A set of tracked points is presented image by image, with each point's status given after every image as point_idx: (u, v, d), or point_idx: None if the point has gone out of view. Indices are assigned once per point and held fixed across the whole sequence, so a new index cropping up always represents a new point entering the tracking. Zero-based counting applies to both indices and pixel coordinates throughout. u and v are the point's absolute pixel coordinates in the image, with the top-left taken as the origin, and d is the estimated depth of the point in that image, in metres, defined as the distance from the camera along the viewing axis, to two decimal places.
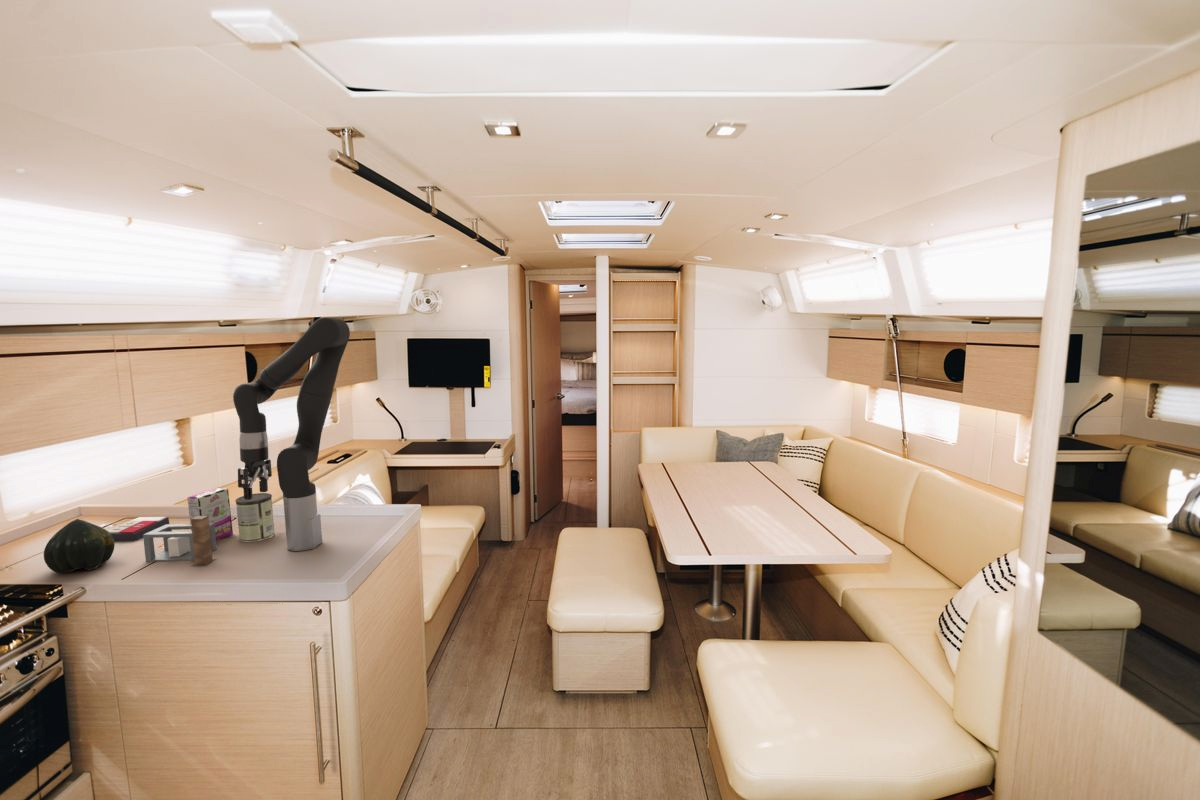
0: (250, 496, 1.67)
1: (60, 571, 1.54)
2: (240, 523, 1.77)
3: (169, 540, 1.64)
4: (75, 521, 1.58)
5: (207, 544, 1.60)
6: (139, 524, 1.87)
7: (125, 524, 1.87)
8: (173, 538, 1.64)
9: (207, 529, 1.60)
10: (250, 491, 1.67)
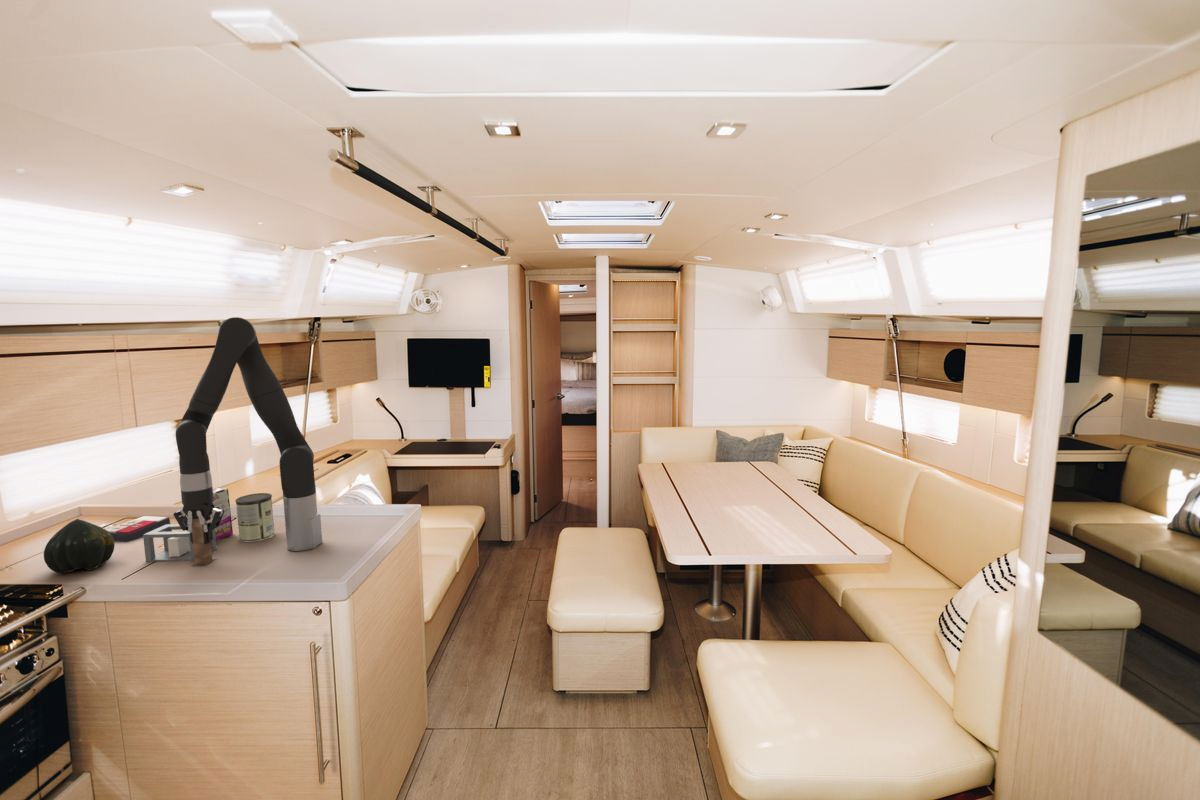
0: None
1: (60, 571, 1.54)
2: (240, 523, 1.77)
3: (169, 540, 1.64)
4: (75, 521, 1.58)
5: (207, 544, 1.60)
6: (138, 524, 1.87)
7: (126, 523, 1.88)
8: (173, 538, 1.64)
9: None
10: None
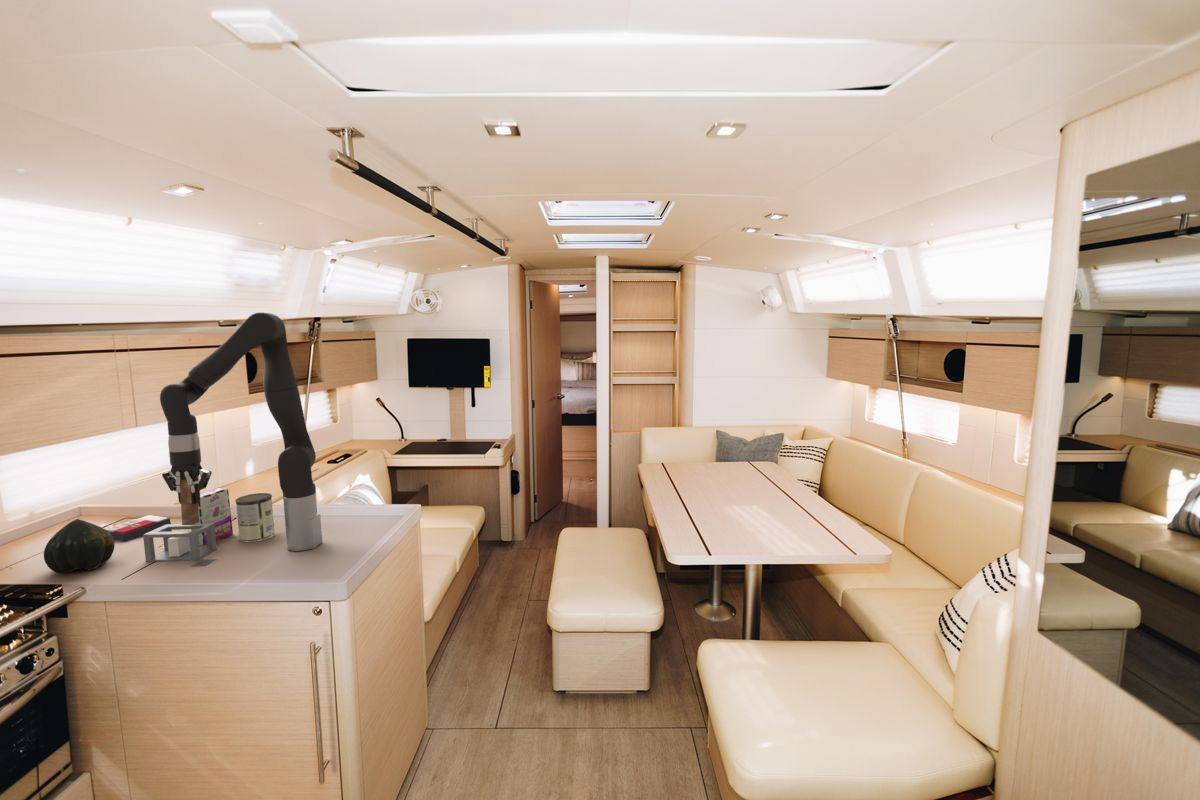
0: None
1: (60, 571, 1.54)
2: (240, 523, 1.77)
3: (169, 540, 1.64)
4: (75, 521, 1.58)
5: (195, 506, 1.65)
6: (137, 524, 1.87)
7: (128, 522, 1.89)
8: (173, 538, 1.64)
9: None
10: None
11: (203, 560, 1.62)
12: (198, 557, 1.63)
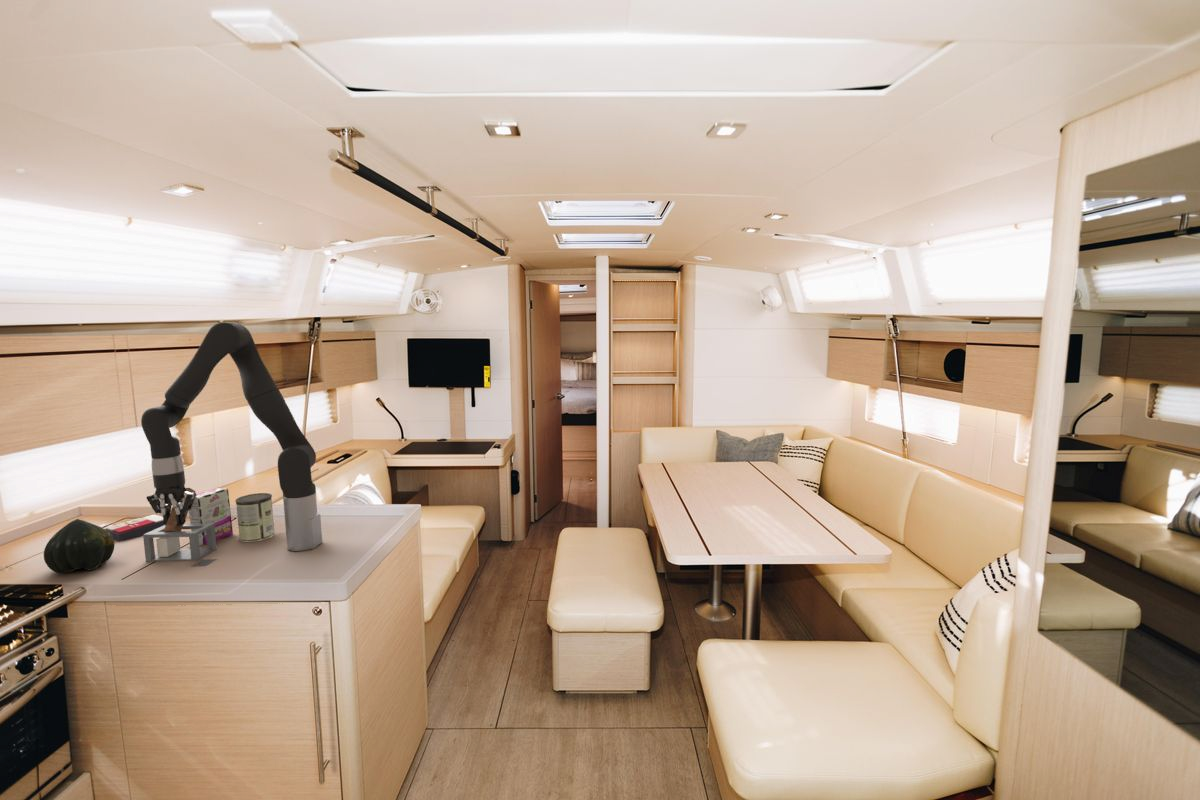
0: None
1: (60, 571, 1.54)
2: (240, 523, 1.77)
3: (158, 540, 1.63)
4: (75, 521, 1.58)
5: None
6: (137, 523, 1.87)
7: (131, 521, 1.90)
8: (162, 538, 1.64)
9: None
10: None
11: (203, 560, 1.62)
12: (198, 557, 1.63)
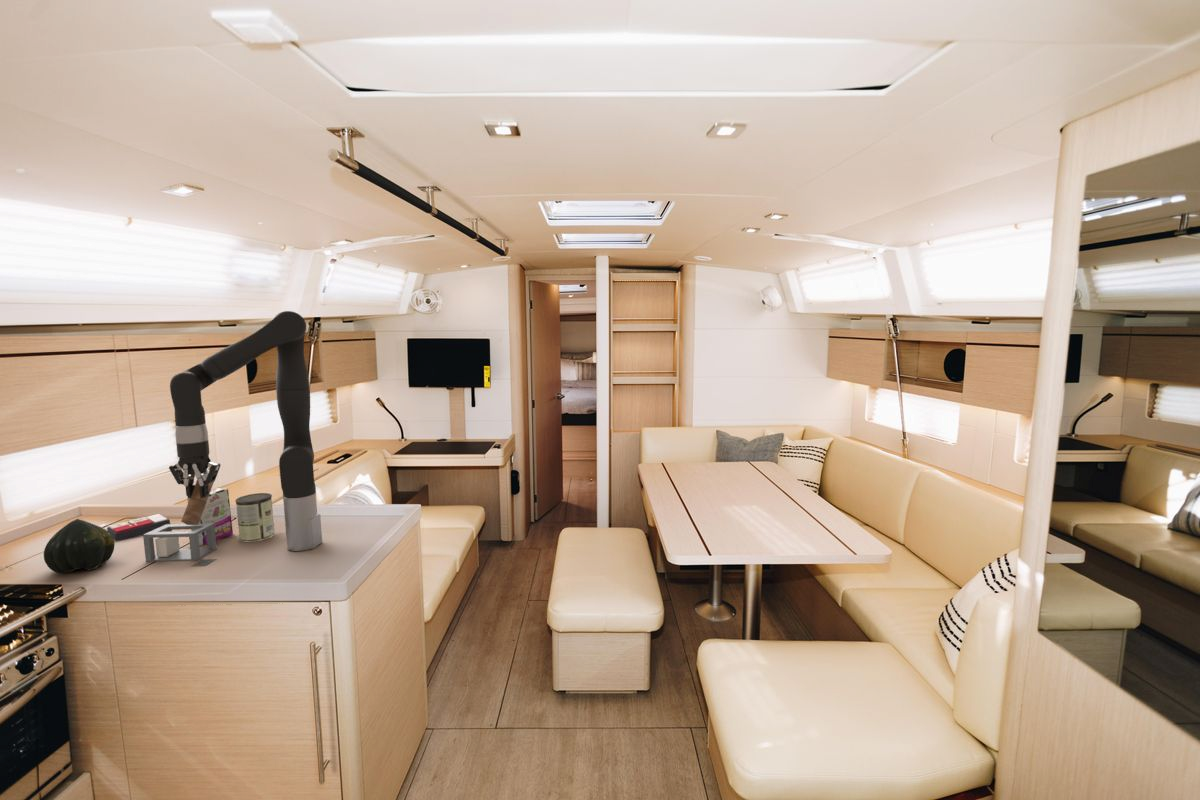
0: None
1: (60, 571, 1.54)
2: (240, 523, 1.77)
3: (157, 540, 1.63)
4: (75, 521, 1.58)
5: (202, 505, 1.58)
6: (137, 523, 1.88)
7: (133, 520, 1.91)
8: (161, 538, 1.64)
9: None
10: None
11: (203, 560, 1.62)
12: (198, 557, 1.63)
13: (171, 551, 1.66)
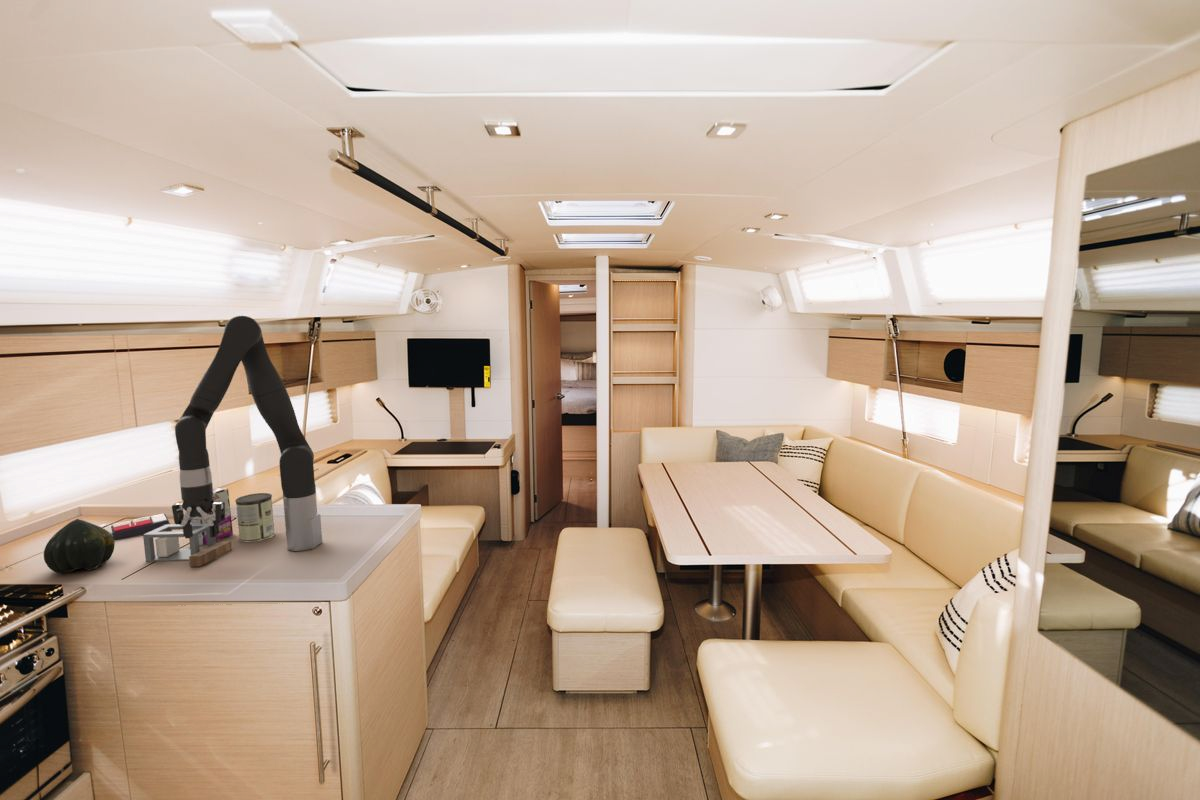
0: None
1: (60, 571, 1.54)
2: (240, 523, 1.77)
3: (157, 540, 1.63)
4: (75, 521, 1.58)
5: (212, 555, 1.63)
6: (137, 523, 1.88)
7: (137, 519, 1.92)
8: (161, 538, 1.64)
9: (222, 551, 1.67)
10: None
11: None
12: None
13: (171, 551, 1.66)
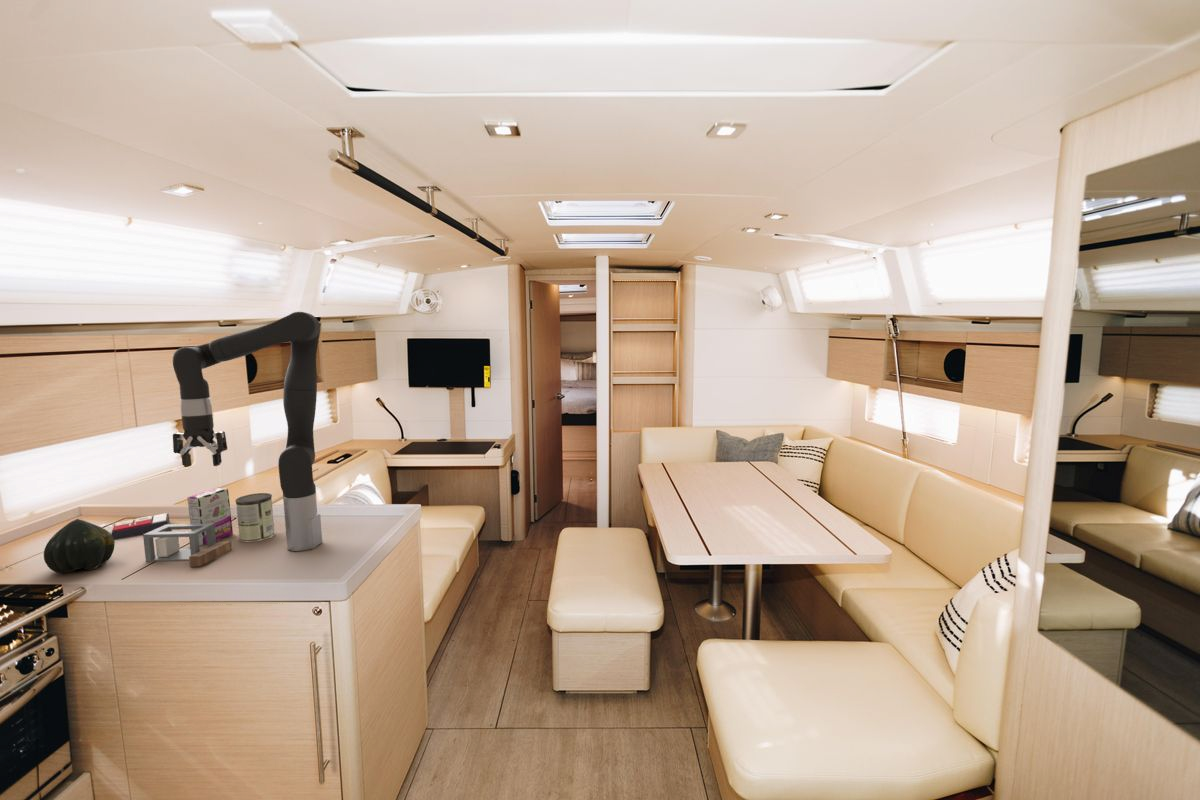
0: None
1: (60, 571, 1.54)
2: (240, 523, 1.77)
3: (157, 540, 1.63)
4: (75, 521, 1.58)
5: (212, 555, 1.63)
6: (138, 522, 1.88)
7: (139, 518, 1.93)
8: (161, 538, 1.64)
9: (222, 551, 1.67)
10: None
11: None
12: None
13: (171, 551, 1.66)
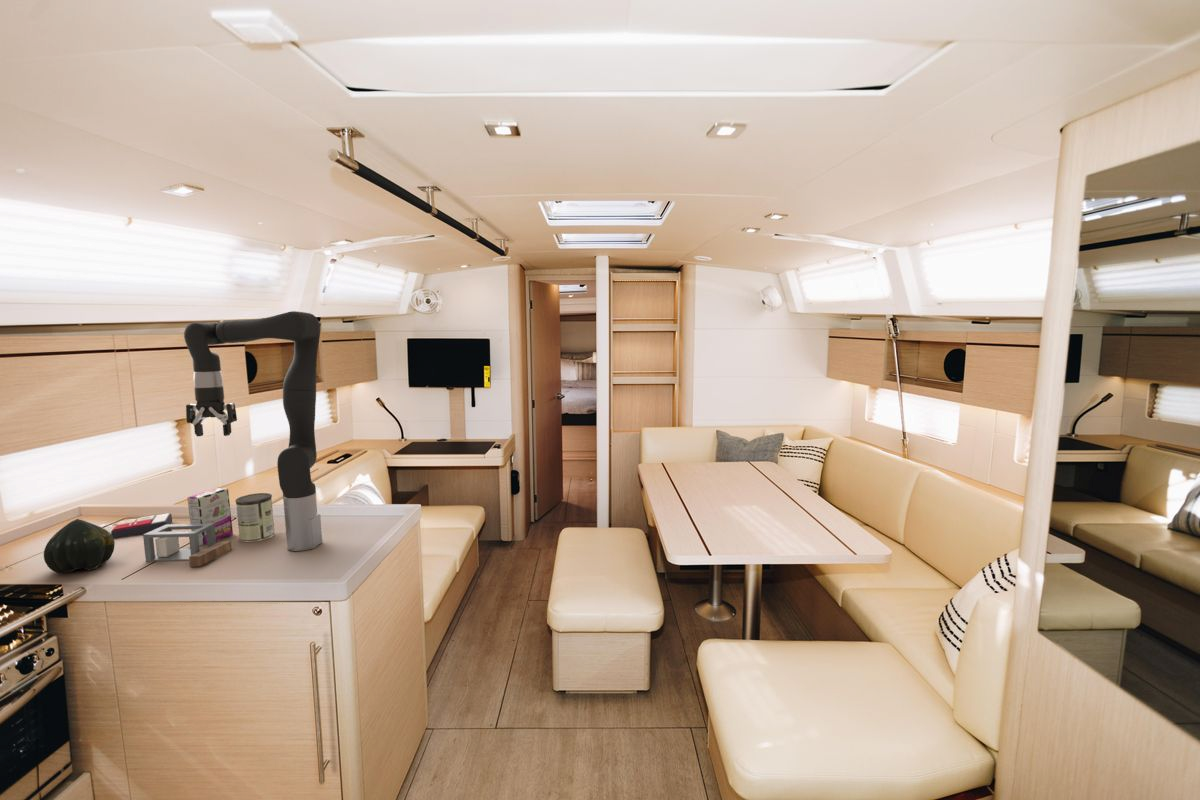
0: None
1: (60, 571, 1.54)
2: (240, 523, 1.77)
3: (157, 540, 1.63)
4: (75, 521, 1.58)
5: (212, 555, 1.63)
6: (138, 522, 1.89)
7: (142, 518, 1.93)
8: (161, 538, 1.64)
9: (222, 551, 1.67)
10: None
11: None
12: None
13: (171, 551, 1.66)
